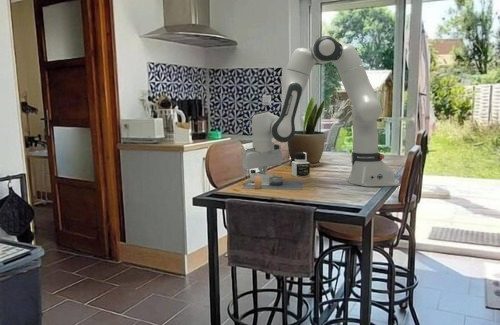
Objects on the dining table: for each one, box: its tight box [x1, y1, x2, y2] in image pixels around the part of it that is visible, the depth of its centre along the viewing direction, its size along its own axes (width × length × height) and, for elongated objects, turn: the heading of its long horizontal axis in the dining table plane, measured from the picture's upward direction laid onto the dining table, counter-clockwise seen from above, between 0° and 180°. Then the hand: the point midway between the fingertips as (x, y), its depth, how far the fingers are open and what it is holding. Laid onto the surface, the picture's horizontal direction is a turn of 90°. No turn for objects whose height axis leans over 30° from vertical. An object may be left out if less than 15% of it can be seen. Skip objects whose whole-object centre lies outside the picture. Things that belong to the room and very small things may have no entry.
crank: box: [249, 169, 284, 185], centre depth 195 cm, size 16×6×5 cm, turn 56°
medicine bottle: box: [291, 152, 311, 178], centre depth 216 cm, size 7×7×12 cm
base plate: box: [241, 176, 304, 191], centre depth 192 cm, size 26×20×6 cm
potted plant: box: [287, 95, 326, 168], centre depth 245 cm, size 21×22×40 cm
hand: (263, 176), depth 198 cm, fingers closed
